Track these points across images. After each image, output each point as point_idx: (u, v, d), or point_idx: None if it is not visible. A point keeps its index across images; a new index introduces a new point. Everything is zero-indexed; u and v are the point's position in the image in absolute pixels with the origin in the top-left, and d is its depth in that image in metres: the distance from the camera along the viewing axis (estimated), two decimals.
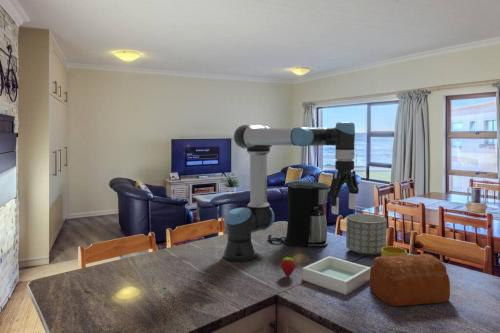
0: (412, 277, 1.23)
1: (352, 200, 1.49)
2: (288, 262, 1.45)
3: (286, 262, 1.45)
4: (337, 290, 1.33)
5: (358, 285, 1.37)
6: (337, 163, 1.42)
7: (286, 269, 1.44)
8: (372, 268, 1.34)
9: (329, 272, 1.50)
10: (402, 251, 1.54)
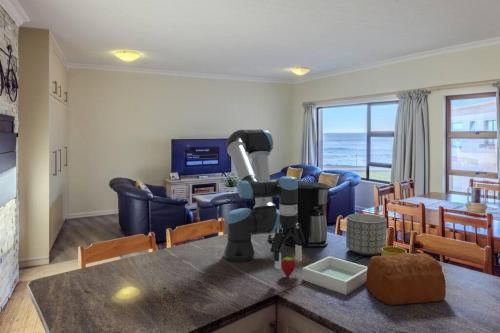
0: (408, 276, 1.24)
1: (298, 252, 1.51)
2: (288, 262, 1.45)
3: (286, 262, 1.45)
4: (337, 290, 1.33)
5: (358, 285, 1.37)
6: (280, 217, 1.44)
7: (286, 269, 1.44)
8: (368, 267, 1.35)
9: (329, 272, 1.50)
10: (402, 251, 1.54)
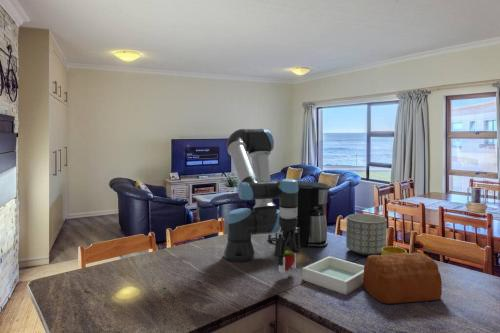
0: (404, 275, 1.24)
1: None
2: (287, 256, 1.45)
3: (285, 256, 1.45)
4: (337, 290, 1.33)
5: (358, 285, 1.37)
6: (280, 220, 1.44)
7: (285, 263, 1.45)
8: (365, 266, 1.36)
9: (329, 272, 1.50)
10: (402, 251, 1.54)
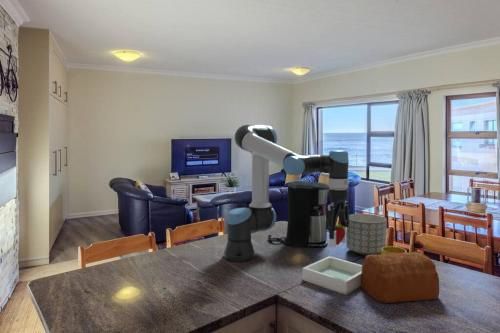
0: (402, 275, 1.25)
1: None
2: (338, 229, 1.41)
3: (336, 229, 1.41)
4: (337, 290, 1.33)
5: (358, 285, 1.37)
6: (330, 192, 1.40)
7: (336, 236, 1.40)
8: (363, 266, 1.36)
9: (329, 272, 1.50)
10: (402, 251, 1.54)
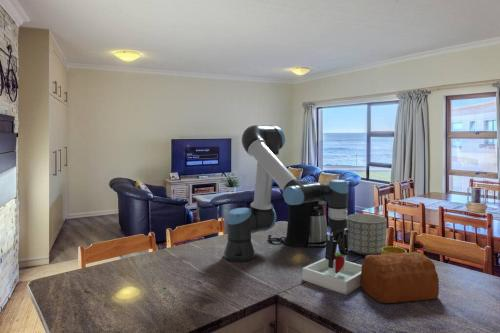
0: (402, 275, 1.25)
1: None
2: (338, 258, 1.42)
3: (336, 258, 1.42)
4: (337, 290, 1.33)
5: (358, 285, 1.37)
6: (330, 221, 1.41)
7: (336, 265, 1.41)
8: (363, 266, 1.36)
9: None
10: (402, 251, 1.54)
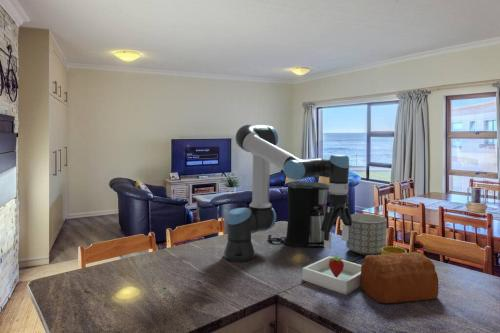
0: (402, 275, 1.25)
1: (345, 232, 1.48)
2: (337, 262, 1.42)
3: (335, 262, 1.42)
4: (337, 290, 1.33)
5: (358, 285, 1.37)
6: (330, 196, 1.40)
7: (335, 270, 1.41)
8: (362, 266, 1.36)
9: (329, 272, 1.50)
10: (402, 251, 1.54)
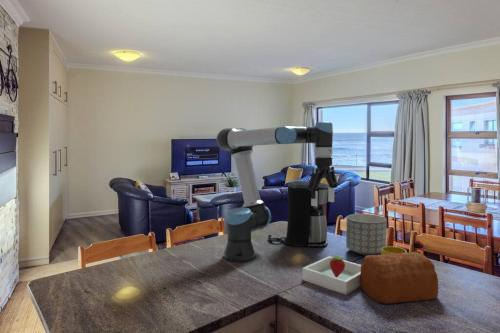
0: (401, 275, 1.25)
1: (331, 194, 1.62)
2: (339, 261, 1.42)
3: (336, 261, 1.42)
4: (337, 290, 1.33)
5: (358, 285, 1.37)
6: (316, 159, 1.55)
7: (336, 269, 1.41)
8: (362, 266, 1.35)
9: (329, 272, 1.50)
10: (402, 251, 1.54)
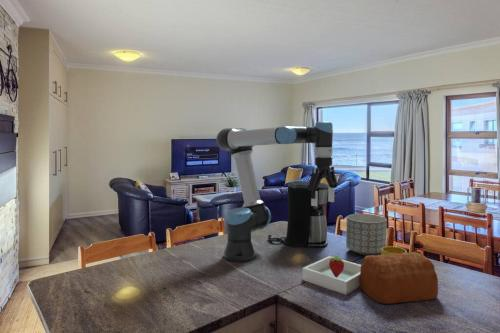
0: (401, 275, 1.25)
1: (331, 194, 1.62)
2: (337, 262, 1.42)
3: (335, 262, 1.42)
4: (337, 290, 1.33)
5: (358, 285, 1.37)
6: (316, 159, 1.55)
7: (335, 270, 1.41)
8: (362, 267, 1.35)
9: (329, 272, 1.50)
10: (402, 251, 1.54)
